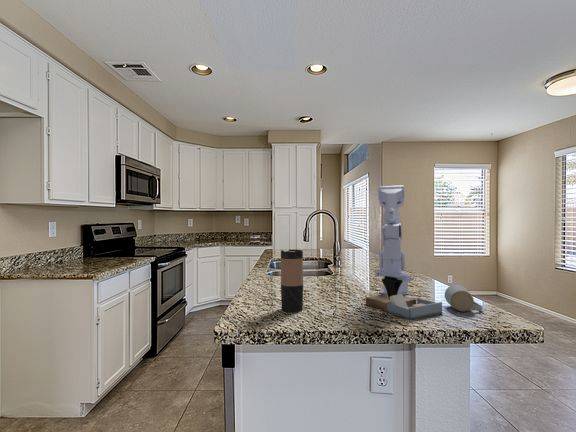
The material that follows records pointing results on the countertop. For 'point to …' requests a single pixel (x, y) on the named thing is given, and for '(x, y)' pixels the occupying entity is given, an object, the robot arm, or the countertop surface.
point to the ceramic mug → (460, 299)
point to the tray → (416, 309)
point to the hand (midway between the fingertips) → (392, 299)
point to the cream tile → (398, 300)
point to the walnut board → (386, 301)
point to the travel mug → (292, 280)
